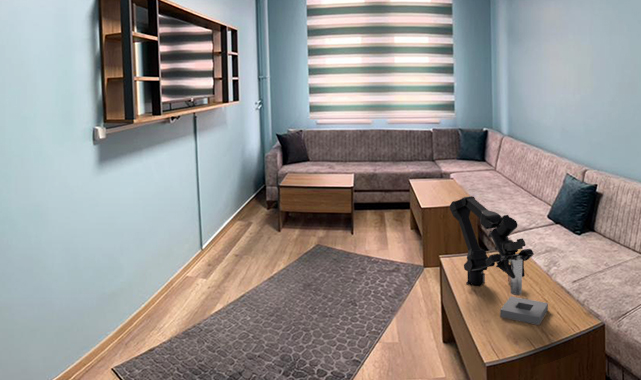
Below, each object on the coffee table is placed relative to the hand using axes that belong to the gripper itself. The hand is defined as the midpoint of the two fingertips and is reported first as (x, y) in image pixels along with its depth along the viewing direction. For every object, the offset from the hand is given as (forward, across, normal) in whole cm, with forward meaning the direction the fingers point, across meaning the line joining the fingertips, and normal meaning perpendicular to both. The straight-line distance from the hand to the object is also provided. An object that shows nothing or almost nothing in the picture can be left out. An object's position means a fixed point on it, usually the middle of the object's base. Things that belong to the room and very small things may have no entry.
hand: (518, 277), depth 198 cm
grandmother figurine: (-6, +14, +26) cm, 30 cm away
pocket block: (+12, 0, +7) cm, 14 cm away
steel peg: (+4, 0, +6) cm, 7 cm away
